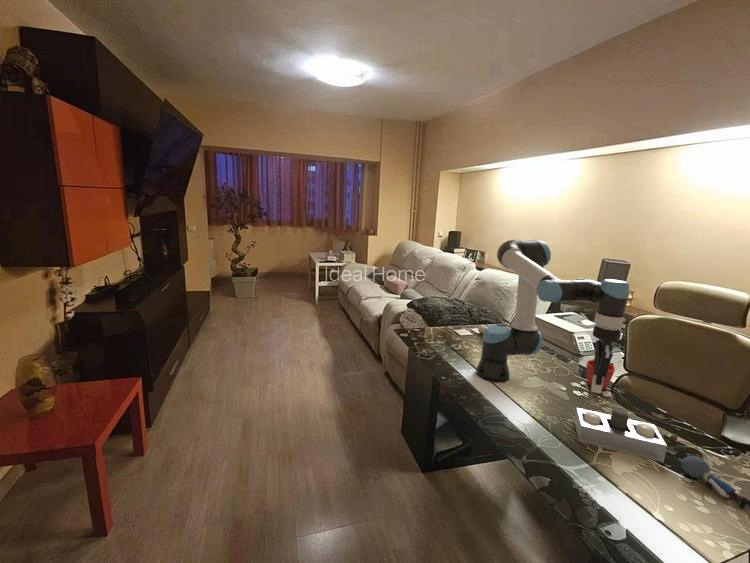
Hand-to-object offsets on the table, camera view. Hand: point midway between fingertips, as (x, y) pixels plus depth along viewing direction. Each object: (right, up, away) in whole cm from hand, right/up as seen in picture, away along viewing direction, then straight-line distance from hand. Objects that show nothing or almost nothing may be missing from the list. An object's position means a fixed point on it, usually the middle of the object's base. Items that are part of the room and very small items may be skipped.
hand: (595, 391), depth 115 cm
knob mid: (+7, -12, -1) cm, 14 cm away
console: (+6, -17, 0) cm, 18 cm away
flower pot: (+27, -10, +39) cm, 49 cm away
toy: (+20, -21, -19) cm, 35 cm away
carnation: (-6, +1, +89) cm, 89 cm away
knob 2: (+13, -16, -4) cm, 21 cm away
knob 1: (0, -15, +2) cm, 15 cm away
